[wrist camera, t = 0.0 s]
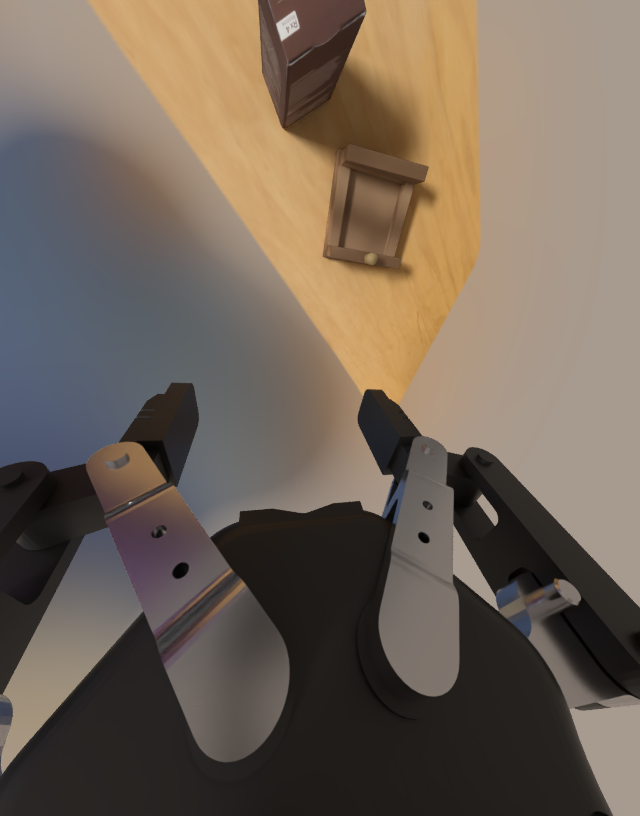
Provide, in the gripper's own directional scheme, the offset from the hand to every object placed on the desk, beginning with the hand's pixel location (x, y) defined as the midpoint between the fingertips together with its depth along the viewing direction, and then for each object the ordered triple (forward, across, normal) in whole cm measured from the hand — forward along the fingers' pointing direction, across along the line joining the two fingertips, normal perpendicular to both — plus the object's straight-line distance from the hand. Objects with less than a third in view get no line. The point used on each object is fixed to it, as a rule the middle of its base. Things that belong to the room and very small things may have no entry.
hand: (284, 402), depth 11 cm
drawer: (+29, -12, -10) cm, 33 cm away
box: (+30, -2, -19) cm, 35 cm away
